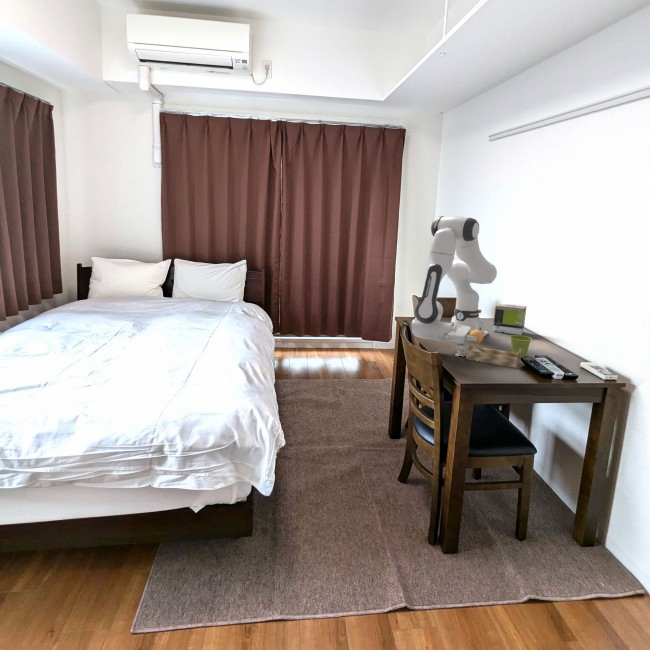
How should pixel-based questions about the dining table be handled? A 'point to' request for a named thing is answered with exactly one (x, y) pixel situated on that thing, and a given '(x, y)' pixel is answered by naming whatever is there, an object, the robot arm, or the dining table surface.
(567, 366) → the dining table surface
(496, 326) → the white retro computer
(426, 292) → the robot arm
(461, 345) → the tee
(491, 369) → the dining table surface
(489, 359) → the lane
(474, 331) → the ball
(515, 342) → the plant pot
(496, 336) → the dining table surface
